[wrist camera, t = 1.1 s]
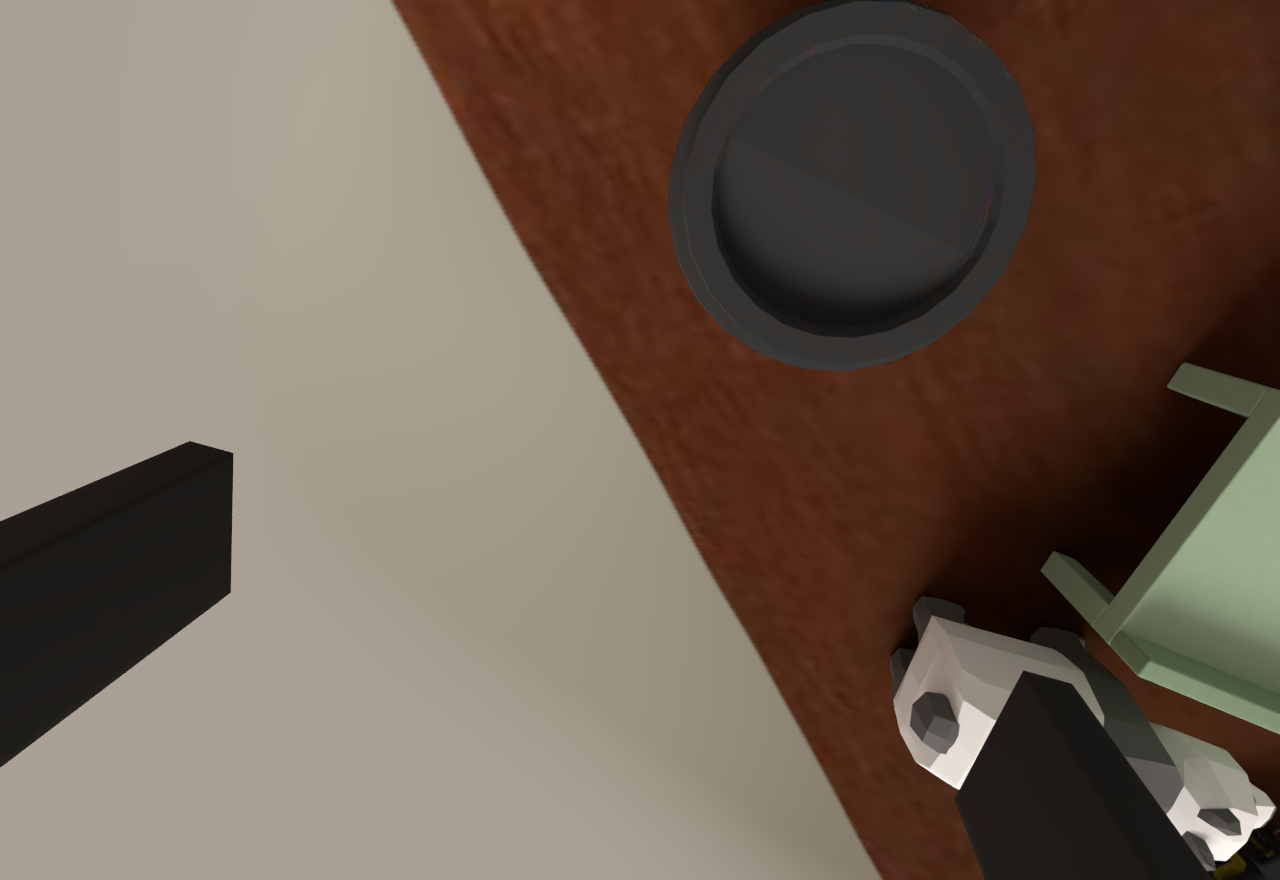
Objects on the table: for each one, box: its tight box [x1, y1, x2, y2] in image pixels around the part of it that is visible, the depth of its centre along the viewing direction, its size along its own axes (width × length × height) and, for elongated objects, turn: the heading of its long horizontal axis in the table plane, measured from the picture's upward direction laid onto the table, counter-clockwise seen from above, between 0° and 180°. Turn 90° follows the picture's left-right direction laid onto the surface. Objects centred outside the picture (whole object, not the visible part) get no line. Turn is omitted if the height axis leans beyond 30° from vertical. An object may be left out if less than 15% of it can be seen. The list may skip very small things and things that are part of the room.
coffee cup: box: [668, 0, 1036, 371], centre depth 21 cm, size 8×8×15 cm
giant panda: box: [890, 596, 1277, 871], centre depth 29 cm, size 15×6×10 cm, turn 76°
